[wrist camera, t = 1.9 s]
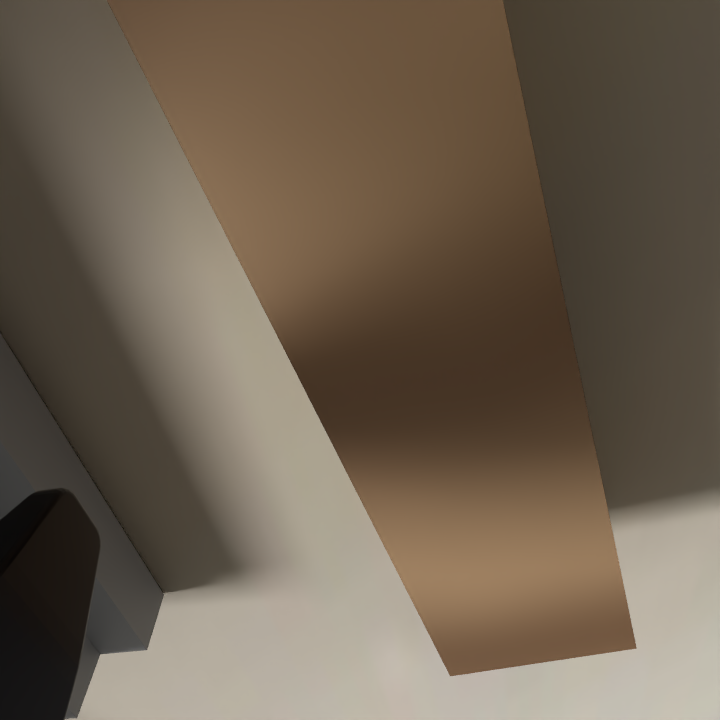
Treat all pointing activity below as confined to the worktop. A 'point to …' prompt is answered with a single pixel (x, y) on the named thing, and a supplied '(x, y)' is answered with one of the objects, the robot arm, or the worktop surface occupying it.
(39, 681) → the robot arm
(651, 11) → the worktop surface
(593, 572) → the brown wooden bar
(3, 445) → the ridge
